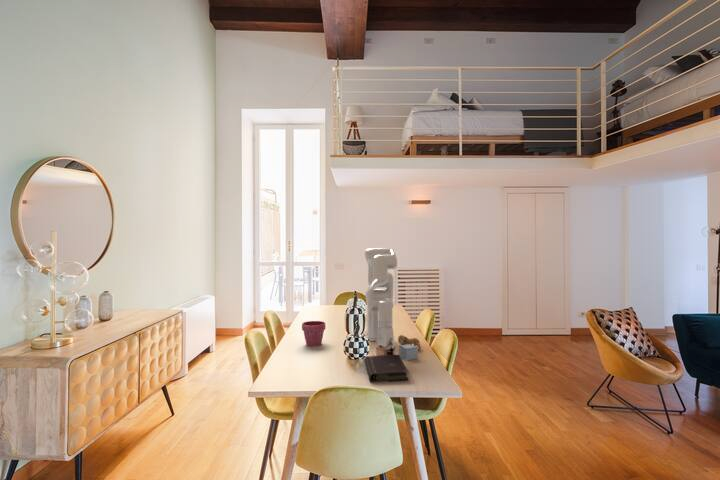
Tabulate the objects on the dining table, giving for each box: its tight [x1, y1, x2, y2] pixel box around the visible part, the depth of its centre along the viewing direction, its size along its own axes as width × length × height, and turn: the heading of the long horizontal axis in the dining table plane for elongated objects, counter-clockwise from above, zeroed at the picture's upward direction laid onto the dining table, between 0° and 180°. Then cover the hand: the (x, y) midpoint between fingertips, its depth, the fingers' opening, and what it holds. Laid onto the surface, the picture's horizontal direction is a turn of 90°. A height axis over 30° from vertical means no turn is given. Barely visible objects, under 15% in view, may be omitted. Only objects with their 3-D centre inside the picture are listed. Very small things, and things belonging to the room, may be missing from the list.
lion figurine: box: [397, 334, 422, 351], centre depth 222 cm, size 15×5×9 cm, turn 109°
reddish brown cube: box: [375, 346, 396, 356], centre depth 205 cm, size 7×7×6 cm
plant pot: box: [301, 320, 326, 347], centre depth 235 cm, size 14×14×13 cm
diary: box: [364, 354, 410, 383], centre depth 186 cm, size 19×25×5 cm
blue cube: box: [398, 344, 419, 361], centre depth 208 cm, size 7×7×6 cm
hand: (385, 356), depth 205 cm, fingers open, 7 cm apart
